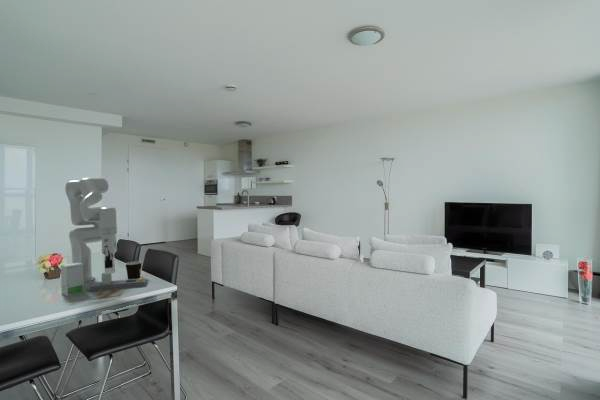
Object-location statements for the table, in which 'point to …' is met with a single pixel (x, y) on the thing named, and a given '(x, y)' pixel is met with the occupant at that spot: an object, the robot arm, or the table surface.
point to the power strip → (118, 284)
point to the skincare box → (72, 279)
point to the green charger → (106, 279)
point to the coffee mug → (133, 270)
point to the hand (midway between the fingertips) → (109, 266)
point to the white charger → (110, 270)
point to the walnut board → (109, 293)
